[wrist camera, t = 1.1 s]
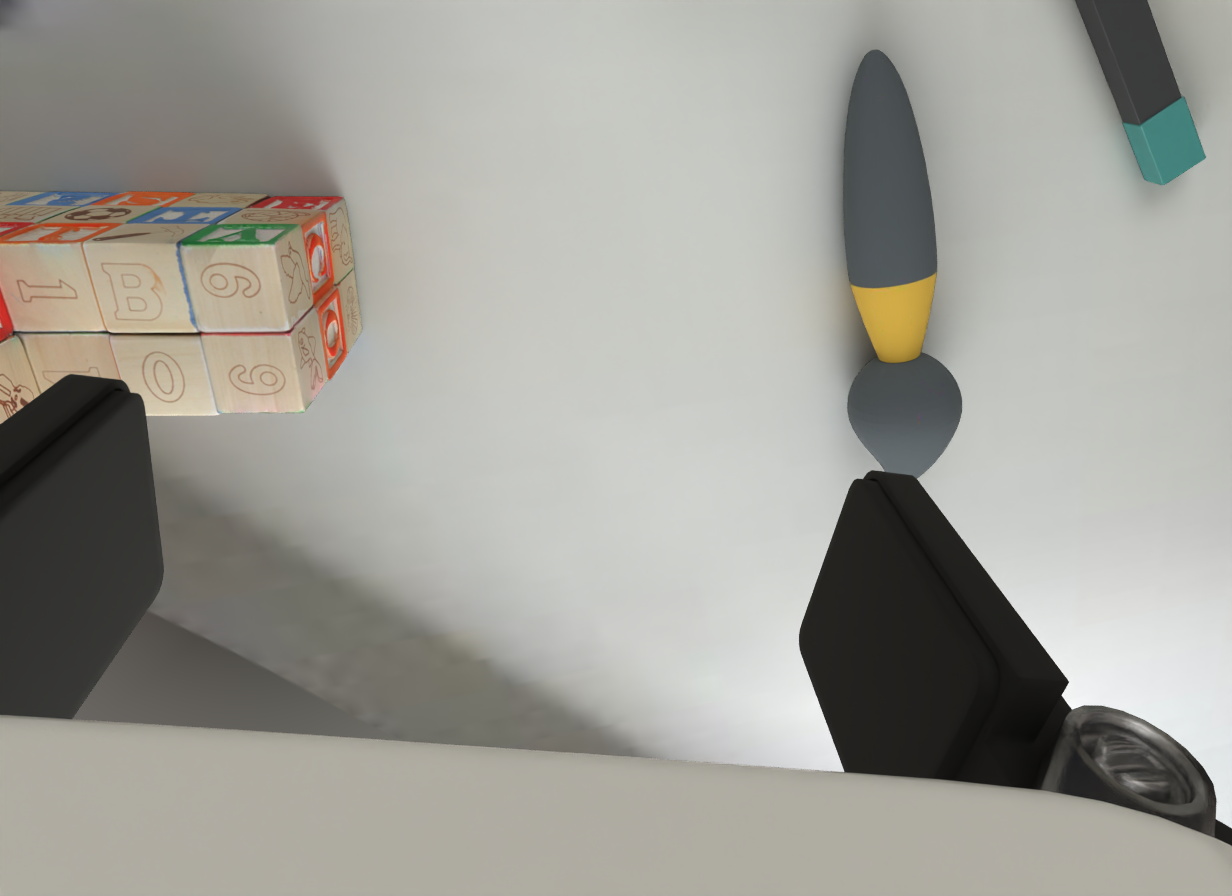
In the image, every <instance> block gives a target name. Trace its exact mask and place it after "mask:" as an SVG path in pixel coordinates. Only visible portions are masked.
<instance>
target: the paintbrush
mask: <svg viewBox="0 0 1232 896" xmlns="http://www.w3.org/2000/svg"><path fill="white" fill-rule="evenodd" d="M843 213H844V236H845V248H846V259H847V267H848V276H849V281H850V285H851V288H852V291H853V294H854V297H855V300H856V303H857V306H858V309H859V311H860V314H861V317H862V319H863V322H864V325H865V327H866V330H867V332H868V335H869V337H870V339H871V342H872V344H873V347H874V349H875V351H876V353H877V356H878V357H876V358H874V359H873V360H871V361H870V362H869V363H867V364H866V365H865V366H864V367H863V368H862V369H861V371H860V372H859V373H858V375H857V376H856V378H855V379H854V381H853V383H852V385H851V388H850V391H849V395H848V403H847V409H848V415H849V420H850V423H851V425H852V427H853V430H854V431H855V433H856V435H857V436H858V438H859V439H860V440H861V442H862V443H863V444H864V446H865V447H866V448H867V449H868V450H869V452H870V453H871V454H872V455H873V456H874V457H875V458H876V460H877V461H878V462H879V463H880V465H881V466H882V467H883V469H884V471H885V472H890V473H898V474H907V475H913V476H914V477H915V478H916V479H917V478H918V477H920V476H921V475H922V474H923V473H924V472H925V471H927V470H928V469H929V468H930V467H931V466H932V465H933V464H934V463H935V462H936V460H937V459H938V458H939V457H940V455H941V454H942V453H943V451H944V450H945V449H946V447H947V446H948V444H949V442H950V441H951V439H952V437H953V435H954V433H955V431H956V429H957V427H958V424H959V422H960V418H961V413H962V397H961V393H960V390H959V387H958V384H957V382H956V381H955V379H954V377H953V375H952V374H951V373H950V372H949V370H948V369H947V368H946V367H945V366H944V365H942V364H941V363H940V362H939V361H937V360H936V359H934V358H933V357H931V356H929V355H927V354H925V353H922V352H921V349H922V346H923V342H924V338H925V333H926V329H927V325H928V320H929V315H930V310H931V305H932V300H933V294H934V288H935V282H936V275H937V248H936V235H935V223H934V215H933V207H932V199H931V192H930V186H929V181H928V175H927V169H926V164H925V159H924V154H923V150H922V145H921V141H920V136H919V132H918V128H917V125H916V121H915V117H914V114H913V110H912V107H911V104H910V101H909V98H908V95H907V92H906V89H905V87H904V84H903V82H902V80H901V78H900V76H899V74H898V72H897V70H896V68H895V66H894V65H893V64H892V62H891V61H890V59H889V58H888V57H887V56H886V55H885V54H884V53H883V52H881V51H879V50H872V51H870V52H868V53H867V54H866V55H865V57H864V58H863V60H862V62H861V64H860V66H859V68H858V71H857V73H856V76H855V80H854V83H853V87H852V91H851V96H850V101H849V107H848V115H847V124H846V133H845V147H844V171H843Z"/></svg>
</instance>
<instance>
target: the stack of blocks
mask: <svg viewBox="0 0 1232 896" xmlns="http://www.w3.org/2000/svg"><path fill="white" fill-rule="evenodd" d="M361 332H362V324H361V318H360V310H359V302H358V295H357V287H356V278H355V272H354V260H353V251H352V242H351V235H350V228H349V222H348V215H347V210H346V205H345V200H344V198H343V197H338V196H334V197H305V196H300V197H295V196H286V197H283V196H275V197H270V196H269V195H267V194H239V193H200V194H196V193H187V192H136V191H126V192H123V193H91V192H47V193H45V192H15V191H0V424H1V423H3V422H4V421H5V420H7V419H8V418H9V417H11V416H12V415H13V414H15V413H16V412H17V411H19V410H20V409H21V408H23V407H24V406H25V405H27V404H28V403H30V402H31V401H32V400H34V399H35V398H36V397H38V396H39V395H40V394H42V393H43V392H44V391H46V390H47V389H48V388H50V387H51V386H52V385H54V384H55V383H56V382H58V381H59V380H60V379H62V378H63V377H64V376H67V375H69V374H77V375H85V376H93V377H102V378H110V379H118V380H123V381H124V382H125V383H126V384H127V386H128V388H129V390H130V392H131V393H138V394H139V395H141V397H142V399H143V401H144V405H145V412H146V416H217V415H219V414H221V413H222V412H223V413H303V412H305V411H306V409H307V408H308V407H309V405H310V404H311V403H312V401H313V400H314V399H315V397H316V396H317V394H318V393H319V392H320V390H321V389H322V388H323V386H324V384H325V383H326V381H330V380H331V378H332V377H333V376H334V374H335V373H336V371H337V370H338V368H339V367H340V365H341V364H342V362H343V361H344V359H345V358H346V355H347V353H349V351H350V349H351V348H352V346H353V345H354V343H355V342H356V340H357V338H358V337H359V335H360V334H361Z"/></svg>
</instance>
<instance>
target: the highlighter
mask: <svg viewBox="0 0 1232 896" xmlns="http://www.w3.org/2000/svg"><path fill="white" fill-rule="evenodd" d="M1075 1H1076V3H1077V6H1078V8H1079V11H1080V13H1081V16H1082V19H1083V21H1084V24H1085V26H1086V29H1087V31H1088V34H1089V36H1090V39H1091V41H1092V44H1093V46H1094V49H1095V51H1096V54H1097V57H1098V59H1099V62H1100V64H1101V67H1102V69H1103V72H1104V74H1105V77H1106V79H1107V82H1108V84H1109V87H1110V89H1111V92H1112V95H1113V97H1114V100H1115V102H1116V105H1117V107H1118V110H1119V112H1120V115H1121V117H1122V120H1123V126H1124V128H1125V131H1126V134H1127V136H1128V139H1129V141H1130V144H1131V146H1132V149H1133V151H1134V154H1135V156H1136V159H1137V161H1138V164H1139V166H1140V169H1141V171H1142V174H1143V177H1144V179H1145V180H1146V181H1149V182H1153V183H1157V184H1160V185H1165V184H1166V183H1168V182H1170V181H1171V180H1173V179H1174V178H1176V177H1177V176H1179V175H1180V174H1182V173H1184V172H1185V171H1187V170H1188V169H1190V168H1191V167H1193V166H1194V165H1196V164H1198V163H1199V162H1201V161H1202V160H1204V159H1205V158H1206V156H1205V154H1204V151H1203V148H1202V145H1201V142H1200V140H1199V137H1198V134H1197V131H1196V128H1195V125H1194V123H1193V120H1192V117H1191V114H1190V111H1189V108H1188V106H1187V103H1186V100H1185V98H1184V97H1181V94H1180V92H1179V89H1178V86H1177V83H1176V80H1175V78H1174V75H1173V72H1172V69H1171V66H1170V63H1169V61H1168V58H1167V55H1166V52H1165V49H1164V47H1163V44H1162V41H1161V38H1160V35H1159V33H1158V30H1157V27H1156V24H1155V21H1154V19H1153V16H1152V13H1151V10H1150V7H1149V4H1148V2H1147V0H1075Z"/></svg>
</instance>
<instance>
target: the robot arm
mask: <svg viewBox="0 0 1232 896" xmlns="http://www.w3.org/2000/svg"><path fill="white" fill-rule="evenodd" d="M163 573H164V566H163V557H162V548H161V540H160V531H159V523H158V514H157V506H156V497H155V489H154V480H153V472H152V463H151V455H150V446H149V438H148V429H147V421H146V412H145V405H144V401H143V399H142V397H141V395H139V394H138V393H131V392H130V390H129V388H128V386H127V384H126V383H125V382H124V381H123V380H118V379H110V378H102V377H93V376H85V375H77V374H69V375H67V376H64V377H63V378H62V379H60V380H59V381H58V382H56V383H55V384H54V385H52V386H51V387H50V388H48V389H47V390H46V391H44V392H43V393H42V394H40V395H39V396H38V397H36V398H35V399H34V400H32V401H31V402H30V403H28V404H27V405H25V406H24V407H23V408H21V409H20V410H19V411H17V412H16V413H15V414H13V415H12V416H11V417H9V418H8V419H7V420H5V421H4V422H3V423H1V424H0V896H1232V829H1231V828H1230V827H1228V826H1226V825H1225V824H1223V823H1221V822H1220V821H1218V820H1216V795H1215V790H1214V786H1213V783H1212V781H1211V780H1210V778H1209V776H1208V775H1207V773H1206V771H1205V770H1204V768H1203V766H1202V765H1201V764H1200V763H1199V762H1198V761H1197V760H1196V759H1195V758H1194V757H1193V756H1192V755H1191V753H1190V752H1189V751H1188V750H1187V749H1186V748H1184V747H1183V746H1182V745H1181V744H1179V743H1178V742H1177V741H1176V740H1174V739H1173V738H1172V737H1170V736H1169V735H1168V734H1167V733H1165V732H1163V731H1162V730H1160V729H1158V728H1157V727H1155V726H1153V725H1152V724H1150V723H1148V722H1147V721H1145V720H1143V719H1140V718H1138V717H1136V716H1133V715H1131V714H1129V713H1126V712H1124V711H1121V710H1117V709H1113V708H1109V707H1105V706H1085V705H1084V706H1081V707H1078V708H1076V709H1073V710H1072V709H1071V708H1070V707H1069V705H1068V704H1067V703H1066V701H1065V700H1064V698H1063V697H1062V696H1061V695H1062V693H1063V692H1064V690H1065V688H1066V686H1067V685H1068V683H1069V681H1068V680H1067V678H1066V677H1065V676H1064V674H1063V673H1062V672H1061V670H1060V669H1059V668H1058V666H1057V665H1056V664H1055V662H1054V661H1053V660H1052V658H1051V657H1050V656H1049V654H1048V653H1047V652H1046V650H1045V649H1044V648H1043V646H1042V645H1041V644H1040V642H1039V641H1038V640H1037V638H1036V637H1035V636H1034V634H1033V633H1032V632H1031V630H1030V629H1029V628H1028V627H1027V625H1026V624H1025V623H1024V621H1023V620H1022V619H1021V617H1020V616H1019V615H1018V613H1017V612H1016V611H1015V609H1014V608H1013V607H1012V605H1011V604H1010V603H1009V601H1008V600H1007V599H1006V597H1005V596H1004V595H1003V593H1002V592H1001V591H1000V589H999V588H998V587H997V585H996V584H995V583H994V581H993V580H992V579H991V577H990V576H989V575H988V573H987V572H986V571H985V569H984V568H983V567H982V565H981V564H980V563H979V561H978V560H977V559H976V557H975V556H974V555H973V553H972V552H971V551H970V549H969V548H968V547H967V545H966V544H965V543H964V541H963V540H962V539H961V537H960V536H959V535H958V533H957V532H956V531H955V529H954V528H953V527H952V525H951V524H950V523H949V521H948V520H947V519H946V517H945V516H944V515H943V513H942V512H941V511H940V509H939V508H938V507H937V505H936V504H935V503H934V501H933V500H932V499H931V497H930V496H929V495H928V493H927V492H926V491H925V489H924V488H923V487H922V485H921V484H920V483H919V481H918V480H917V479H916V478H915V477H914V476H913V475H907V474H898V473H890V472H882V471H873V470H872V471H870V472H868V473H867V474H866V476H865V477H864V479H856V480H854V482H853V483H852V484H851V486H850V488H849V491H848V494H847V497H846V499H845V502H844V505H843V508H842V511H841V514H840V516H839V519H838V522H837V525H836V528H835V531H834V533H833V536H832V539H831V542H830V545H829V548H828V550H827V553H826V556H825V559H824V562H823V565H822V567H821V570H820V573H819V576H818V579H817V582H816V585H815V587H814V590H813V593H812V596H811V599H810V602H809V604H808V607H807V610H806V613H805V616H804V619H803V621H802V624H801V628H800V634H799V646H800V652H801V655H802V658H803V660H804V663H805V666H806V669H807V671H808V674H809V677H810V679H811V682H812V685H813V687H814V690H815V693H816V696H817V698H818V701H819V704H820V706H821V709H822V712H823V715H824V717H825V720H826V723H827V725H828V728H829V731H830V733H831V736H832V739H833V742H834V744H835V747H836V750H837V752H838V755H839V758H840V760H841V763H842V766H843V769H844V771H845V772H833V771H819V770H806V769H792V768H779V767H765V766H752V765H739V764H725V763H711V762H696V761H682V760H667V759H653V758H638V757H624V756H609V755H594V754H580V753H565V752H551V751H536V750H522V749H507V748H493V747H478V746H463V745H449V744H434V743H420V742H405V741H390V740H375V739H362V738H347V737H332V736H318V735H304V734H290V733H275V732H260V731H246V730H231V729H215V728H199V727H183V726H168V725H152V724H137V723H121V722H106V721H90V720H73V719H72V718H73V717H74V715H75V714H76V713H77V711H78V710H79V708H80V707H81V705H82V704H83V702H84V701H85V699H86V698H87V697H88V695H89V694H90V692H91V691H92V689H93V687H94V686H95V685H96V683H97V682H98V680H99V679H100V678H101V676H102V675H103V673H104V672H105V670H106V669H107V667H108V666H109V664H110V663H111V662H112V660H113V659H114V657H115V655H116V654H117V653H118V651H119V650H120V649H121V647H122V645H123V644H124V643H125V641H126V640H127V638H128V637H129V635H130V634H131V633H132V631H133V630H134V628H135V627H136V625H137V624H138V622H139V621H140V619H141V618H142V616H143V615H144V614H145V612H146V611H147V609H148V608H149V606H150V605H151V603H152V602H153V601H154V599H155V598H156V596H157V594H158V592H159V590H160V587H161V584H162V580H163Z"/></svg>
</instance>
